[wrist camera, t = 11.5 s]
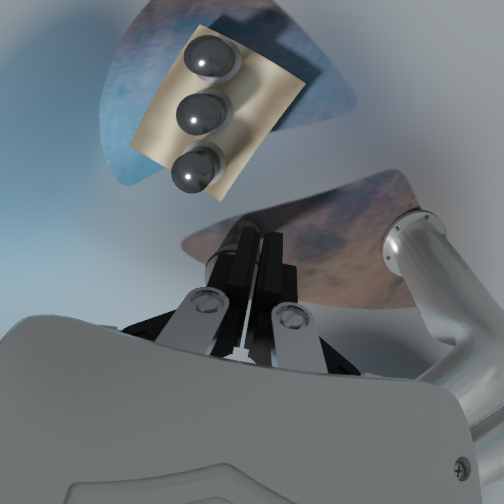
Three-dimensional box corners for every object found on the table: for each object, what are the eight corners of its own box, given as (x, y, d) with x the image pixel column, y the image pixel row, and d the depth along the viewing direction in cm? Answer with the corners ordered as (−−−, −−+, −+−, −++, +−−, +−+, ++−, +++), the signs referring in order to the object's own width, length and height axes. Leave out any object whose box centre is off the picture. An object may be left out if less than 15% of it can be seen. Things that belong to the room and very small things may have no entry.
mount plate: (304, 85, 32) (306, 83, 29) (224, 194, 41) (220, 202, 39) (205, 29, 28) (199, 24, 26) (139, 142, 38) (129, 146, 35)
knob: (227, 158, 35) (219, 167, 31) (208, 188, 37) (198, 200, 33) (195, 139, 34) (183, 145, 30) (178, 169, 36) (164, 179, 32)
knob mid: (234, 105, 31) (227, 106, 27) (214, 137, 34) (203, 143, 29) (202, 87, 30) (189, 85, 26) (182, 118, 33) (168, 122, 28)
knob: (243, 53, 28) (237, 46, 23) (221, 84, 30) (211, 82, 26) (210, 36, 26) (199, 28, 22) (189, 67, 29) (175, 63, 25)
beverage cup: (213, 226, 44) (171, 313, 27) (250, 202, 42) (225, 285, 25) (240, 259, 47) (216, 353, 30) (277, 238, 44) (270, 333, 27)
